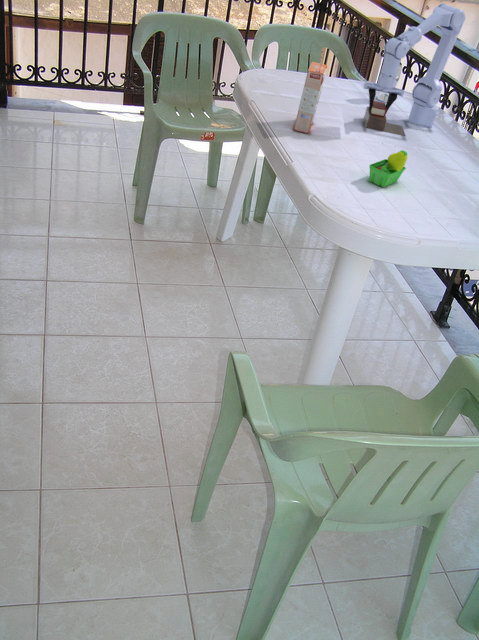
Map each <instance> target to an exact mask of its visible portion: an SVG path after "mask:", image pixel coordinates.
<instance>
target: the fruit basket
mask: <svg viewBox="0 0 479 640" xmlns="http://www.w3.org/2000/svg"><path fill="white" fill-rule="evenodd" d="M407 160H408V152H407V151H406V150H404V149H402V150H400V151H398V152H393V153H391V154H390V155H388V157H387V159H385V158H384V159H381V160H379V161H376V162H374V163H370V164H369V165H368V166H369V182H370V183H373V184H374V185H377V186H379V187H381V188H385V187H388V186H390V185H392V184H395V183H397V182H398V180H400V177H401V176H402V174H403V173H404V172H405V170H406V169H407V167H405V165H406V162H407Z"/></svg>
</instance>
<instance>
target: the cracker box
mask: <svg viewBox="0 0 479 640" xmlns="http://www.w3.org/2000/svg"><path fill="white" fill-rule="evenodd" d="M327 69H328V65H327V64H324V63H320V62H315V61H311V63H310V64H309V67H308V69H307V72H306V76H305V81H304V85H303V89H302V93H301V96H300V97H301V98H300V100H299V106H298V109H297V113H296V118H295V122H294V127H293V131H296V132H299V133H304V134H308V135H309V134H310V131H311V129H312V125H313V123H314V119H315V116H316V112H317V110H318V109H317V108H318V105H319V101H320V97H321V93H322V89H323V86H324V82H325V79H326V73H327Z"/></svg>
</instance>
